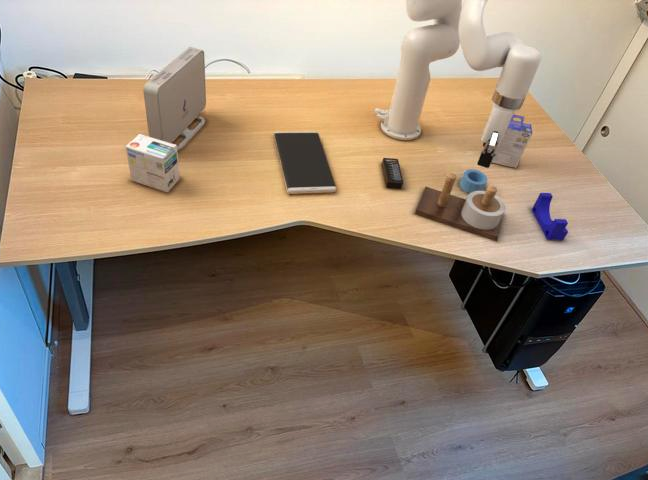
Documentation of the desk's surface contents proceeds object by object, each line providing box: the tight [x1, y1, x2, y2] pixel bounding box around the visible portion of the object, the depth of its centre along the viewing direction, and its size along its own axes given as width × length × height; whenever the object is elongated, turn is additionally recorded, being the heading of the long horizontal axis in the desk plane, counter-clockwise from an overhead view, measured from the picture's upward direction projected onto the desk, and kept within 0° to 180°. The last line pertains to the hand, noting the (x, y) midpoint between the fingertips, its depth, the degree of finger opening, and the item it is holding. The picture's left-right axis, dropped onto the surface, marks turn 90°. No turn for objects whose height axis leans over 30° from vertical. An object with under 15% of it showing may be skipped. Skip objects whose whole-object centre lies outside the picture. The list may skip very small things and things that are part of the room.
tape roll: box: [459, 168, 489, 195], centre depth 154 cm, size 7×7×4 cm
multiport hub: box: [381, 157, 404, 190], centre depth 154 cm, size 4×11×2 cm, turn 2°
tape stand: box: [414, 172, 506, 241], centre depth 142 cm, size 22×11×11 cm, turn 69°
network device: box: [142, 46, 207, 151], centre depth 150 cm, size 26×9×20 cm, turn 161°
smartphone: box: [273, 131, 337, 195], centre depth 153 cm, size 13×27×2 cm, turn 11°
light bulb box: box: [125, 133, 181, 193], centre depth 138 cm, size 11×7×11 cm, turn 71°
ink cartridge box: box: [491, 113, 533, 169], centre depth 161 cm, size 10×6×14 cm, turn 78°
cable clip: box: [531, 192, 569, 241], centre depth 146 cm, size 12×4×6 cm, turn 5°
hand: (485, 156), depth 147 cm, fingers open, 9 cm apart
